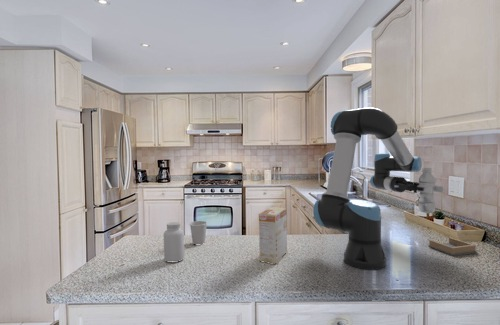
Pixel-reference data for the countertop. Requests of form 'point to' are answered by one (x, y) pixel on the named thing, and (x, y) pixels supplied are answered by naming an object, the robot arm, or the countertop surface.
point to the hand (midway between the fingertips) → (437, 189)
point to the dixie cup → (198, 231)
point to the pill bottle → (173, 242)
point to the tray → (454, 247)
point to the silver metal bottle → (427, 198)
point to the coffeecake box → (272, 234)
